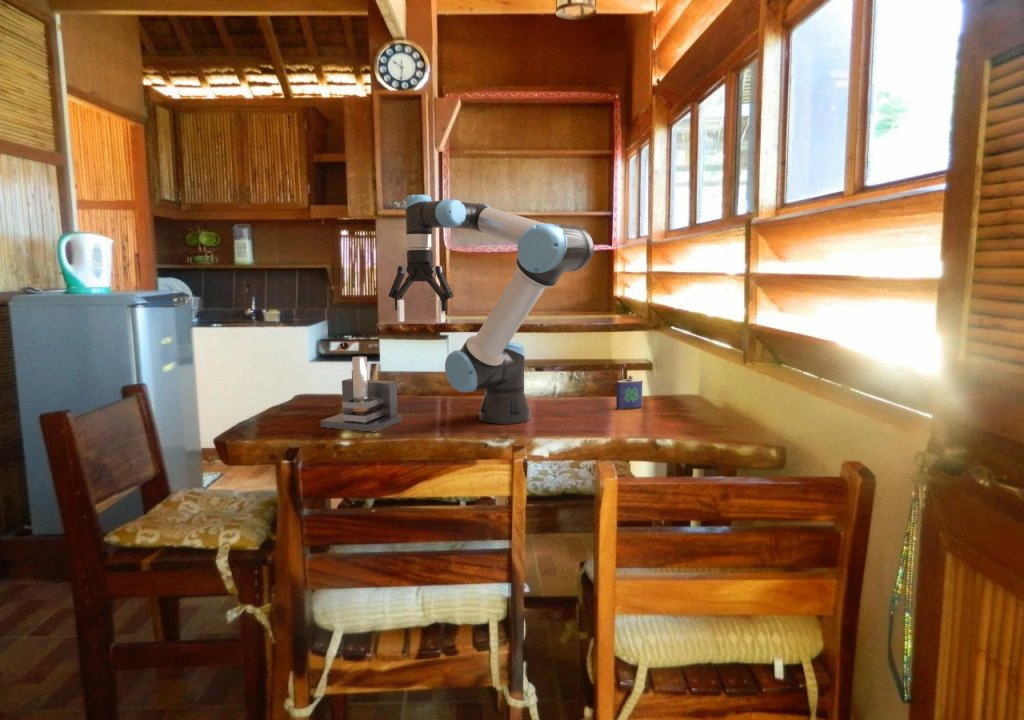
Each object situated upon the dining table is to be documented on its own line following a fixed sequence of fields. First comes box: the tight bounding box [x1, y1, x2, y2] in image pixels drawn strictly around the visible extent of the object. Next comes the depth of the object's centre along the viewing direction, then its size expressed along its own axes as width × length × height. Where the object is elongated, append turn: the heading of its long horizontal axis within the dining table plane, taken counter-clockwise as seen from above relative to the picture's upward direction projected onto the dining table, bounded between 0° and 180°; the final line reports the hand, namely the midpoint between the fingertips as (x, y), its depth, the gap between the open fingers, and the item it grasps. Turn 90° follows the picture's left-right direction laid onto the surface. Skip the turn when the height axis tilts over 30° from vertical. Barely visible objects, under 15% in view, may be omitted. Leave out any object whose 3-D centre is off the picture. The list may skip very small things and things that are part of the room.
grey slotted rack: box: [320, 369, 403, 432], centre depth 195 cm, size 18×14×15 cm
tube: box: [351, 355, 369, 422], centre depth 192 cm, size 4×4×18 cm
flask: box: [615, 374, 644, 411], centre depth 216 cm, size 9×3×11 cm, turn 112°
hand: (421, 322), depth 202 cm, fingers open, 13 cm apart
